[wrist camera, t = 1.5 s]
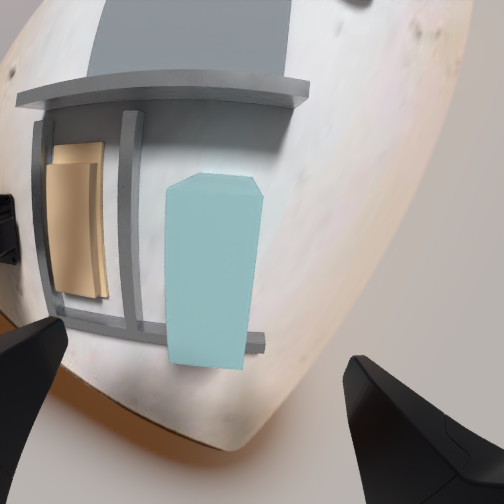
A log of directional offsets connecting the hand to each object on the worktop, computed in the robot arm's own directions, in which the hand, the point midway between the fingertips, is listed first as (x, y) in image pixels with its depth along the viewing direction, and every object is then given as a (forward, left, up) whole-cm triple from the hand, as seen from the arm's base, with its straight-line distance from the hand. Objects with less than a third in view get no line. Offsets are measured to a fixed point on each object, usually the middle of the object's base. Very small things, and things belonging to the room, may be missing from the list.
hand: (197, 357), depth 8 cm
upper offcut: (-11, 0, -12) cm, 17 cm away
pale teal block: (0, 0, -13) cm, 13 cm away
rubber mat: (-4, +18, -13) cm, 22 cm away
